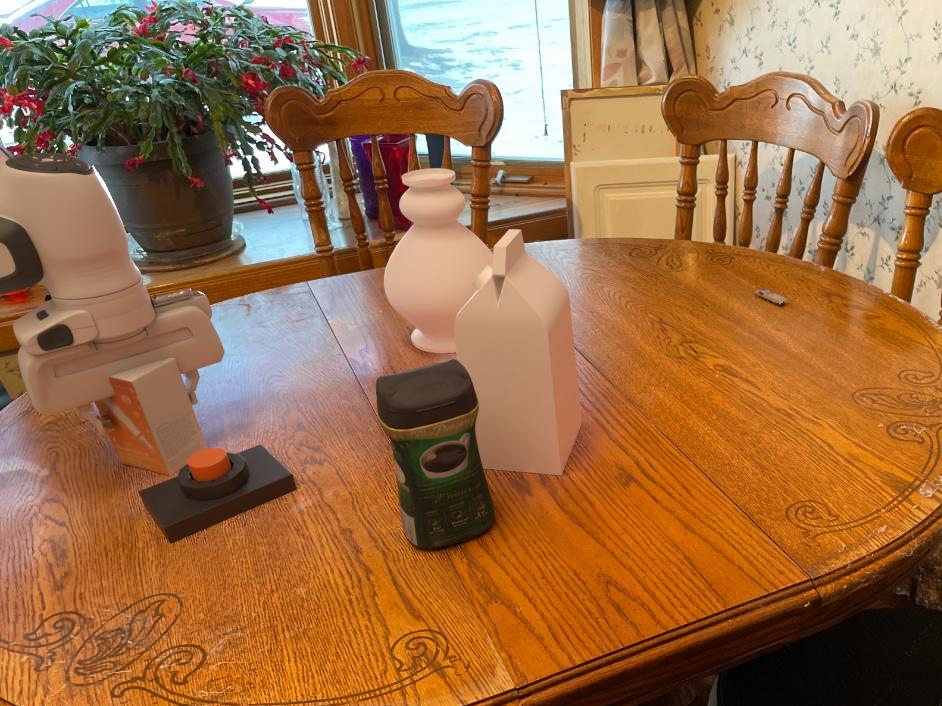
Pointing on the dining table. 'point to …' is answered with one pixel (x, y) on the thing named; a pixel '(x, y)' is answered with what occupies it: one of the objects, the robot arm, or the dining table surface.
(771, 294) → the granola bar
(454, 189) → the decorative vase
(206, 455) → the button
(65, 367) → the robot arm
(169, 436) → the small box
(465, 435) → the coffee jar
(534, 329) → the milk
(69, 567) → the dining table surface
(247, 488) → the black base plate
